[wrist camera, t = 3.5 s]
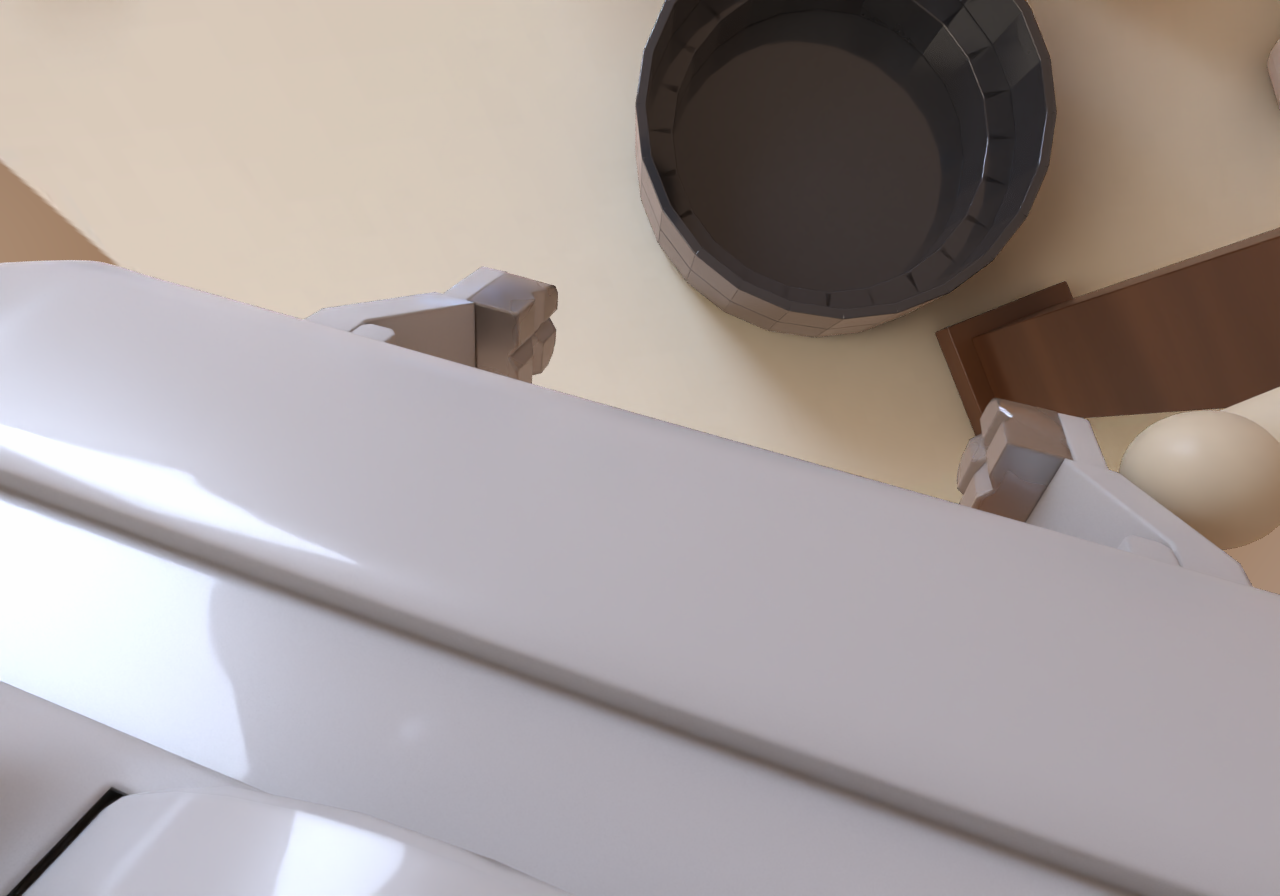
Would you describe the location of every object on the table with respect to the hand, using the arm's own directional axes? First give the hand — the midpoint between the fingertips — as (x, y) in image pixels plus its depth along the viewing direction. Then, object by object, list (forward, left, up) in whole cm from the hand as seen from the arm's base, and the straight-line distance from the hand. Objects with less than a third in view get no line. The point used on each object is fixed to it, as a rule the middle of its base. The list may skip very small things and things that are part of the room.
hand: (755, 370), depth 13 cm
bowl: (+1, +17, -26) cm, 31 cm away
